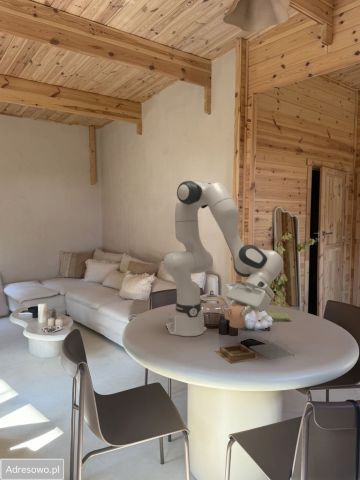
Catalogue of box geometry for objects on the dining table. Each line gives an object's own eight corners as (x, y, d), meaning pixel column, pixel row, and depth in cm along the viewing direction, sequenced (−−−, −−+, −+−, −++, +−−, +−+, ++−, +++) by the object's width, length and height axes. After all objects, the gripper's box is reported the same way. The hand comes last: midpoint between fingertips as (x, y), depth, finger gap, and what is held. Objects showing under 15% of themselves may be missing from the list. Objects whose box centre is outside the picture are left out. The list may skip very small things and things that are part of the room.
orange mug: (221, 324, 143) (222, 304, 142) (239, 322, 146) (240, 302, 145) (228, 329, 138) (229, 308, 137) (247, 327, 140) (247, 306, 140)
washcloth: (292, 322, 193) (292, 316, 192) (259, 322, 192) (259, 316, 192) (284, 315, 206) (284, 309, 205) (253, 315, 205) (253, 310, 205)
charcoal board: (248, 350, 152) (248, 346, 152) (272, 346, 156) (272, 343, 156) (268, 363, 139) (268, 359, 138) (294, 358, 143) (294, 354, 143)
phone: (253, 328, 178) (253, 320, 193) (253, 331, 178) (253, 322, 193) (270, 329, 176) (269, 321, 191) (270, 332, 176) (269, 323, 191)
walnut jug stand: (214, 355, 146) (214, 346, 146) (242, 350, 151) (242, 342, 151) (230, 367, 134) (230, 358, 134) (260, 362, 139) (260, 353, 139)
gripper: (235, 276, 153) (215, 302, 149) (269, 285, 135) (248, 315, 131) (243, 286, 156) (224, 311, 152) (278, 296, 138) (257, 325, 134)
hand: (235, 313), depth 141 cm, fingers closed on orange mug, 6 cm apart
